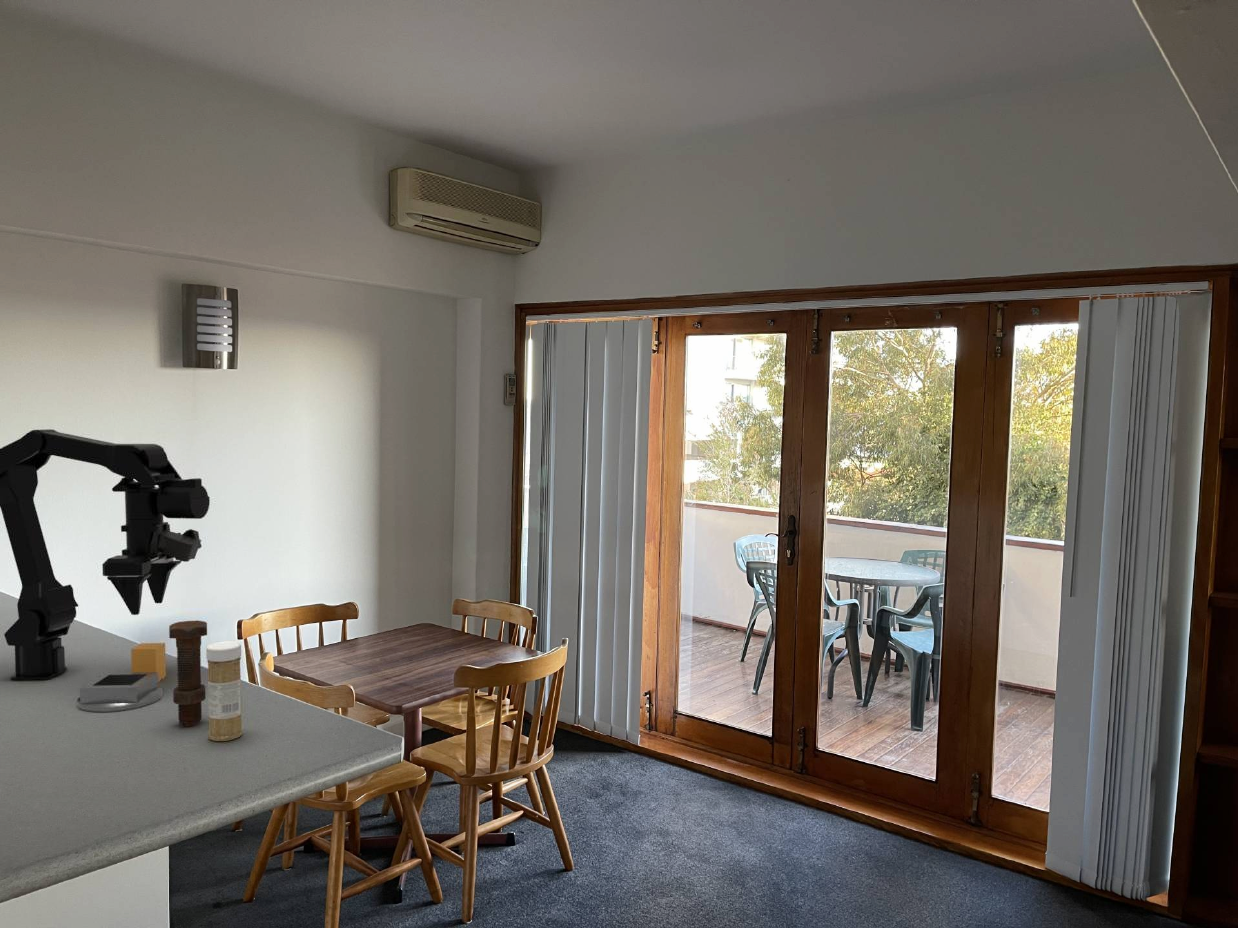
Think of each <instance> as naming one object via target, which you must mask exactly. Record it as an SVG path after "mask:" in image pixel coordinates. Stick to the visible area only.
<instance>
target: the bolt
mask: <svg viewBox="0 0 1238 928" xmlns="http://www.w3.org/2000/svg"><path fill="white" fill-rule="evenodd" d="M168 631H169V632H168V633H169V634H168V635H169V639H175V647H176V655H177V656H176V657H177V658H176V662H177V663H176V666H177V667H176V668H177V674H176V675H177V686H176V687H175V688H173V690H172V691H173V692H172V696H173V697H172V698H173V699H172V700H173V703H174V704H176V705H177V706H178V707H177V709H178V710H177V711H178V715H177V716H178V717H177V720H178V723H179V725H180V726H181V727H183V726H186V727H187V728H188V727H193V726H195V725H197V724H199V723H200V722H201V721H202V715H203V714H202V702H204V701H205V700H206V685H204V684H202V675H201V673H202V671H201V670H202V669H201V667H202V666H201V665H202V664H201V663H202V661H201V660H202V659H201V654H202V653H201V652H202V650H201V645H202V637H205V636H208V622H206V621H203V620H186V621H185V620H184V621H178V622H175V623H172V624H170V625H169V629H168Z"/></svg>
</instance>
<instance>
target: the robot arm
mask: <svg viewBox="0 0 1238 928" xmlns="http://www.w3.org/2000/svg"><path fill="white" fill-rule="evenodd" d="M52 456H54V457H59V458H64V459H65V458H66V459H70V460H74V461H79V462H84V463H88V464H92V465H93V464H94V465H98V466H102V467H104V468H106V469H108V470H109V471H110V472H111V473H113V474H116V475H118V476H121V477H122V478H121V480H120V481H119V482H118V483H116V485H114V486H113V487H112V488H111V491H112V492H114V493H115V492H117V493H120V492H123V493H124V503H125V504H124V505H125V510H124V511H125V524H123V525H120V531H121V532H123V533H125V536H126V538H125V541H126V548H124V549H121V555H114V556H112V557H110V558H109V557H108V558H107V559H106V560H105V561H104V562H103V563H102V576H103V577H106V579H107V581H110V583H111V584H112V585H113V587H114V588H115V589H116V591H117V592H118V594H119V595H120V597H121V600H123V602H124V604H125V605H126V607H127V609H128V610H129V613H130V614H131V616H138V615H139V614H140V611H141V606H142V605H141V603H142V597H143V596H142V595H143V588H144V585H143V584H144V583H145V582H147V585H148V589H149V591H150V594H151V596H152V598H153V599H152V600H153V602H154V603H155V604H162V603H163V601H164V597H165V594H166V589H167V586H168V582H169V579H170V576H171V573H172V571H173V570H175V569H176V567H177V566H179V565H180V564H181V563H182V562H185V563H186V562H189V561H191V560H194V559H196V556H197V553H198V550H199V549H201V548H202V543H201V542H202V539H200V533H199V531H198V530H196V529H195V530H194V529H191V528H189V529H188V530H186V531H184V533H182V534H181V532H173V531H171V525H170V523H169V522H168V521H164V517H165V518H166V519H186V520H188V519H190V520H191V519H194V520H195V519H196V520H199V519H203V518H205V517H206V515H207V513H208V511H209V509H210V504H211V503H210V500H211V499H210V496H209V494H208V491H207V489H206V488H205V486H203V484H202V478H187V479H183V478H182V476H180V473H178V472H177V470H176V469H175V467H174V466H173V465H172V463H171V461H170V460H169V459H168V455H167V452H166V451H165V449H164V447H162V446H161V445H159V444H157V443H114V442H110V441H104V440H100V439H99V440H98V439H93V438H88V437H84V436H79V435H75V434H69V433H66V432H61V431H57V430H55V429H53V428H52V429H51V428H50V429H32V430H30V431H28V432H27V433H26V434H24V435H23V436H22V437H20V438H18V439H16V440H14V441H13V442H11V443H9V444H7V445H4V446H2V447H1V448H0V511H1V514H2V517H3V521H4V525H5V528H6V533H7V535H8V540H9V543H10V547H11V551H12V553H13V557H14V561H15V565H16V567H17V571H18V576H19V578H20V579H19V580H20V583H21V590H20V595H19V596H18V601H17V605H16V606H17V616H18V619H17V620H16V621H15V622H14V623H13V624H12V625H11V626H10V627H9V628H8V629H7V630H6V632H4V635H3V636H4V638H5V641H6V644H7V646H10V647H11V646H12V647H13V646H14V663H15V664H14V665H15V666H14V667H15V669H14V670H15V671H14V672H15V673H14V674H13V675H11V676H10V677H9V680H12V681H22V680H26V681H27V680H51V679H52V678H53V677H56V676H57V675H59V674H60V673H61V674H62V673H63V672H65V671H66V670H67V669H68V666H67V665H66V662H65V661H66V658H65V657H66V655H65V653H66V652H65V646H64V645H62V636H67V635H68V634H69V631H70V627H71V625H72V623H74V620H75V618H76V617H77V609H76V608H77V607H79V604H78V602H77V601H76V598H75V596H74V588H73V587H72V585H71V584H66V585H62V583H61V582H59V581H58V580H57V578H56V576H55V573H54V571H53V570H54V569H53V566H52V563H51V562H52V561H51V559H50V556H49V552H48V548H47V545H46V542H45V541H46V540H45V537H44V534H43V529H42V526H41V523H40V519H39V516H38V512H37V508H36V504H35V500H34V498H35V494H36V492H37V488H38V484H39V477H38V471H39V470H40V469H42V468H43V467H44V466H45V465H46V464H47V463H48V462H49V461H50V459H51V457H52ZM156 486H157V487H156ZM121 532H120V533H121Z"/></svg>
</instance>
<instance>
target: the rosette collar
mask: <svg viewBox="0 0 1238 928" xmlns="http://www.w3.org/2000/svg"><path fill="white" fill-rule="evenodd" d="M162 697H163V689H162V688H161V687H160V686H159V682H158V672H132V671H131V672H127V671H126V672H104V673H102V674H101V675H99V676H97V677H95V678H94V679H93V680H91V681H89V682H87V683H86V684H84V685H83V686H80V688H79V697H78V698H77V701H76V702H77V703H76V704H77V708H78V709H79V710H80V711H82V712H83V711H84V712H89V713H115V712H116V713H117V712H123V711H124V712H125V711H131V710H135V709H138V708H143V707H146V706H149V705H153V704H154V703H157V702H158V701H160V700H161V699H162Z"/></svg>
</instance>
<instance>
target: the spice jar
mask: <svg viewBox="0 0 1238 928" xmlns="http://www.w3.org/2000/svg"><path fill="white" fill-rule="evenodd" d="M206 646H207V647H206V660H207V661H206V663H207V673H208V674H207V676H208V679H207V692H208V693H207V695H208V698H207V701H208V720H209V721H208V722H209V723H208V726H209V733H208V739H210V740H212V741H214V742H227V741H228V742H229V741H233V740H236V739H237V738H240V737H241V736H242V735H243V729H242V710H243V709H242V708H243V707H242V706H243V705H242V698H243V697H242V680H241V658H242V657H241V656H242V644H241V643H240V642H238V641H234V640H233V641H232V640H231V641H230V640H229V641H219V642H214V643H210V644H208V645H206Z"/></svg>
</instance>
